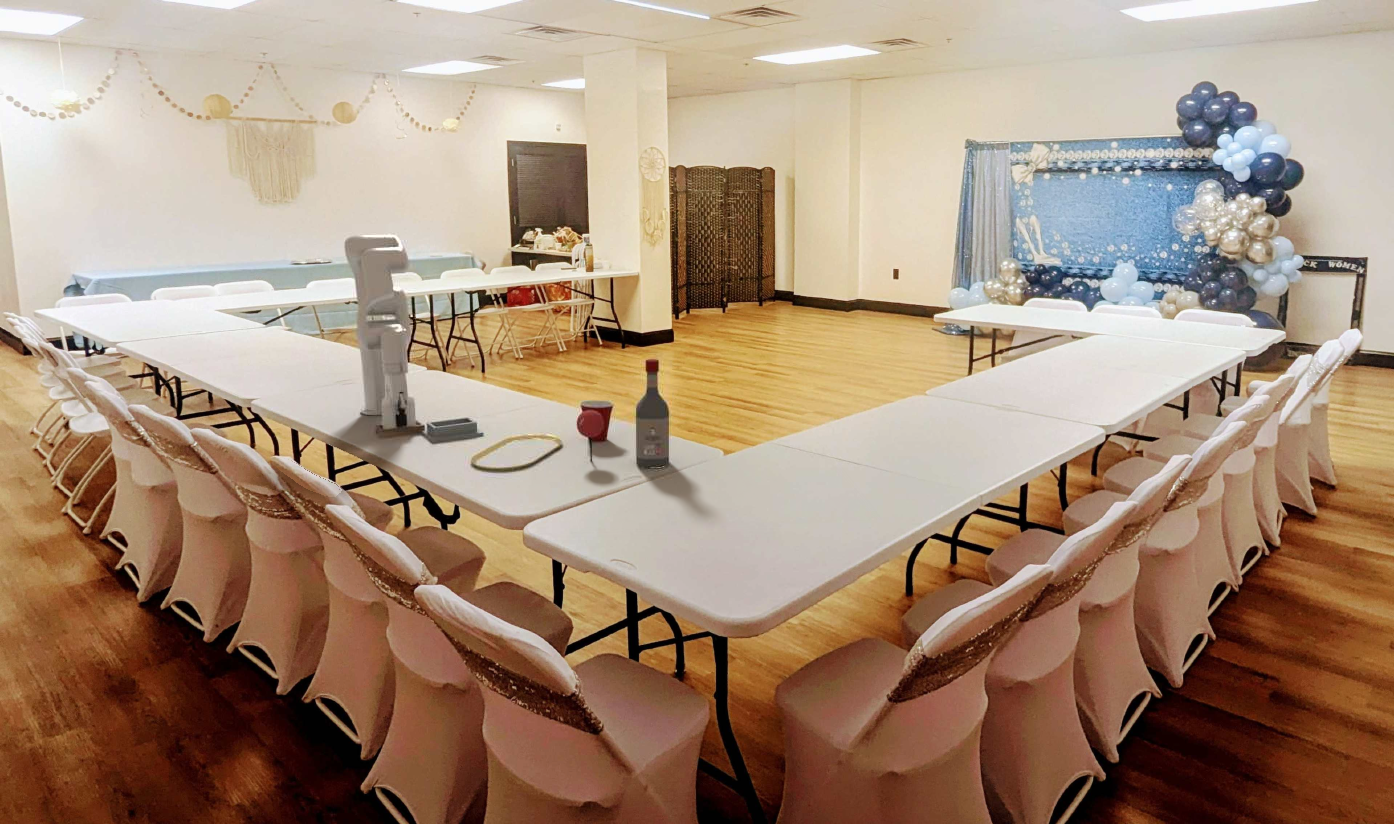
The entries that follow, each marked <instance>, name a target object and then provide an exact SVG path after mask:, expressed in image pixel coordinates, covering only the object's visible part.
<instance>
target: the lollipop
mask: <svg viewBox="0 0 1394 824" xmlns="http://www.w3.org/2000/svg"><path fill="white" fill-rule="evenodd" d="M603 427H604V420H603V417H602V416H601V414H600V413H598V412H596V411H593V410H587V411H584V412H581V413H579V415H578V417H577V420H576V429H577V431H578V433H579V434H580V435H581V436H583V437H586V438H588V437H590V441H589V448H590V449H589V451H590V452H589V454H590V455H589V456H590V457H589V459H590V462H591V461H592V462H593V443H592V442H593V441H592V437H595V436H598V435H599V434H600V433H601V432H602V430H603Z"/></svg>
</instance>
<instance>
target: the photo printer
mask: <svg viewBox="0 0 1394 824" xmlns="http://www.w3.org/2000/svg"><path fill="white" fill-rule="evenodd" d="M404 399H405V398H404ZM405 401H406V400H405ZM397 405H400V403H397ZM399 408H400V407H398V409H399ZM396 415H397V413H396V405H395V406H392V405H391V403H390V399H389V397H386V398H384V399H382V415H381V417H382V419H381V420H382V424H383V430H385V429H393V428H401V427H397V426H396ZM406 416H407V426H403V427H408V426H416V420H417V418H416V403H415V399H414V396H412V395H410V394H408V403H407V404H406Z"/></svg>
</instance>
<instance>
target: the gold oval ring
mask: <svg viewBox="0 0 1394 824" xmlns="http://www.w3.org/2000/svg"><path fill="white" fill-rule="evenodd" d="M532 438H540V439H539V440H542V439H547V440H546V441H549V440H552V441H553V443H555V444H556V443H557V444H558V446H557V444H556V446H555V447H554V448H552V449H550V450H549V451H547V452H546V453H543V454H542V455H541V456H539V457H537V458H536V459H534V460H532V461H530V462H528V463H524V464H520V465H515V466H503V467H502V466H500V467H499V466H497V467H496V466H493V467H492V466H485V465H480V464H476V462H478V461H480V460H481V459H482V458H484V457H483V456H485V457H486V456H489V455H490V454H491V453H490V452H492V453H494V452H495V450H496V451H497V450H499V449H501V448H503V447H505V446H507V445H508V444H507V443H509V444H510V442H511V443H513V442H512V441H514V440H519V441H521V440H520V439H527V440H533V439H532ZM552 441H551V442H552ZM514 442H515V441H514ZM506 444H507V445H506ZM562 444H563V440H562V439H561V438H559V437H557V436H555V435H550V434H524V435H523V434H522V435H515V436H510V437H507V438H505V439H502V440H500V441H499V442H497V443H495V444H493V445H491V446H490V447H488V448H486V449H484V450H482V451H480V452H478V453H476V454H475V455H473V456H471V458H470V461H471V464H473V466H474V467H476V468H478V469H482V470H487V471H495V472H496V471H499V472H500V470H504V471H513V470H512V469H514V470H519V469H518V468H520V469H523V467H524V468H526V466H527V467H530V466H532V465H533V464H534V463H537V462H538V461H540V460H541V459H543V458H545V457H546V456H548V455H549V454H551V453H553V452H554V451H557V448H558V449H559V448H561V446H562ZM502 446H503V447H502ZM500 447H501V448H500ZM498 448H499V449H498ZM493 451H494V452H493ZM489 453H490V454H489ZM544 456H545V457H544ZM480 458H481V459H480ZM477 460H478V461H477ZM531 464H532V465H531ZM529 465H530V466H529Z"/></svg>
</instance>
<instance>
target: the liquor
mask: <svg viewBox="0 0 1394 824" xmlns="http://www.w3.org/2000/svg"><path fill="white" fill-rule="evenodd" d="M659 371H660V361H659V359H656V358H651V359H650V358H648V359H645V372H646V390H645V394H644V395H643V396H642V398H640V399H639V401H638V402H637V404H636V407H635V444H636V445H635V452H636V455H635V457H636V458H635V459H636V461H635V463H636V465H637V467H638V466H640V467H639V468H641V467H644V468H643V469H652V468H651V467H663V466H666V465H668V466H669V463H670V410H669V406H668V403H667V401H666V400H664V398H663V397H662V395H660V394H659V393H660V392H659V389H658V388H659V387H658V385H659V381H658V380H659V379H658V377H659V376H658V372H659ZM666 467H667V466H666ZM663 468H664V467H663Z"/></svg>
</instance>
